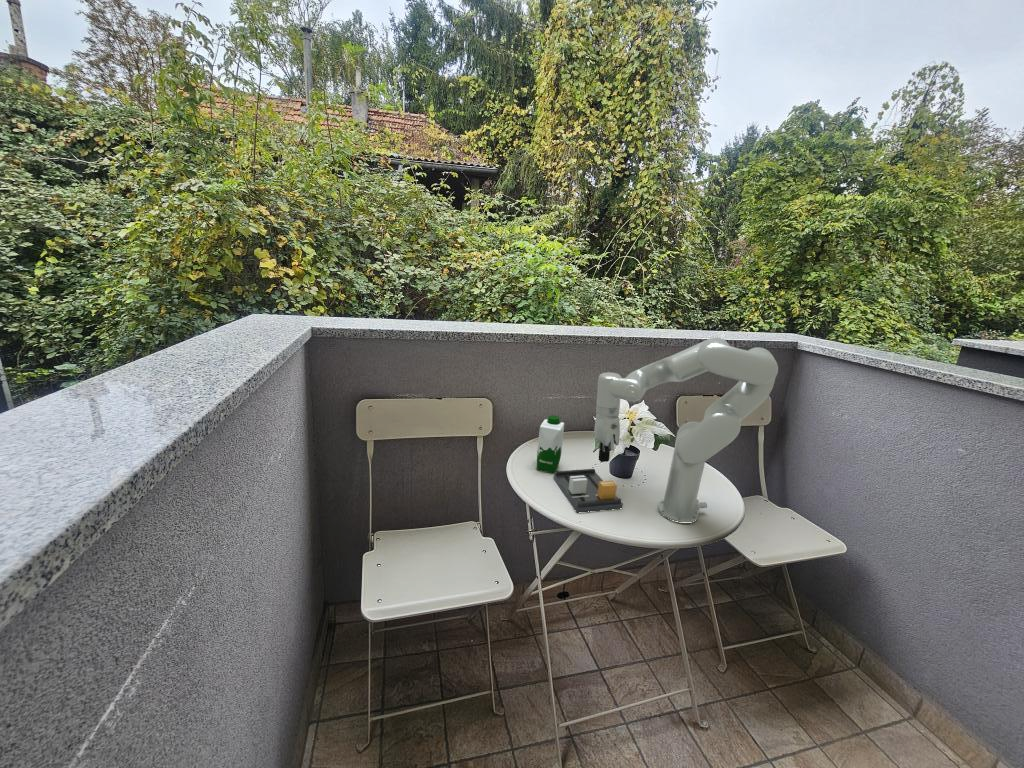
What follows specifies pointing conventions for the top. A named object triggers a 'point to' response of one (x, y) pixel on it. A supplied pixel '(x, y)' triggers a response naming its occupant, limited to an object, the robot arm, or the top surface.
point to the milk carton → (550, 444)
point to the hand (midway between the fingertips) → (603, 460)
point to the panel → (590, 498)
